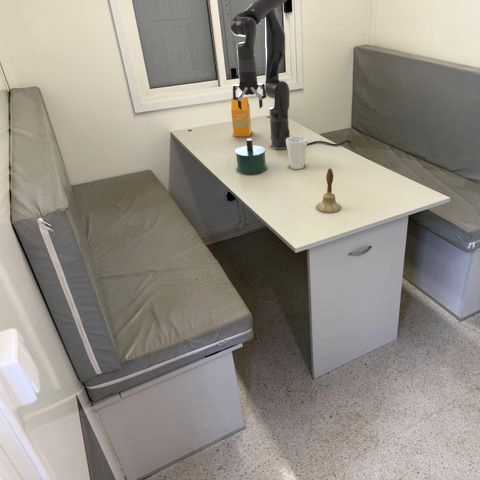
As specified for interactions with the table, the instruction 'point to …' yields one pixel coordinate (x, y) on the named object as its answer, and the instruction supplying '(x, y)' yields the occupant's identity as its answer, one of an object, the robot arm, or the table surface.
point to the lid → (250, 150)
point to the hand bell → (329, 196)
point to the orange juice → (241, 118)
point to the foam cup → (296, 151)
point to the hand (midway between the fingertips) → (250, 108)
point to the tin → (251, 164)
